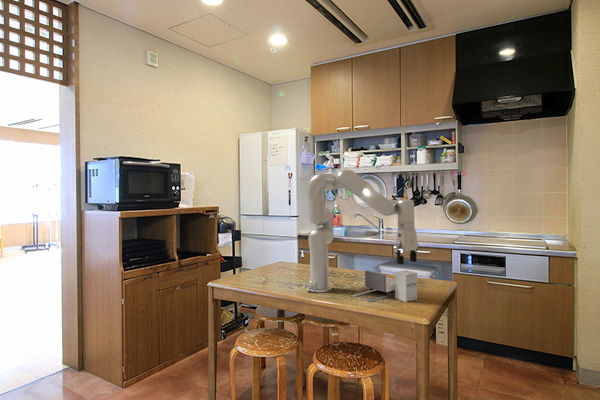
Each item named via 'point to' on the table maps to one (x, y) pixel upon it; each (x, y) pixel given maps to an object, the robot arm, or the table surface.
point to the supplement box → (406, 285)
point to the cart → (379, 282)
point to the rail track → (373, 298)
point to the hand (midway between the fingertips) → (407, 262)
